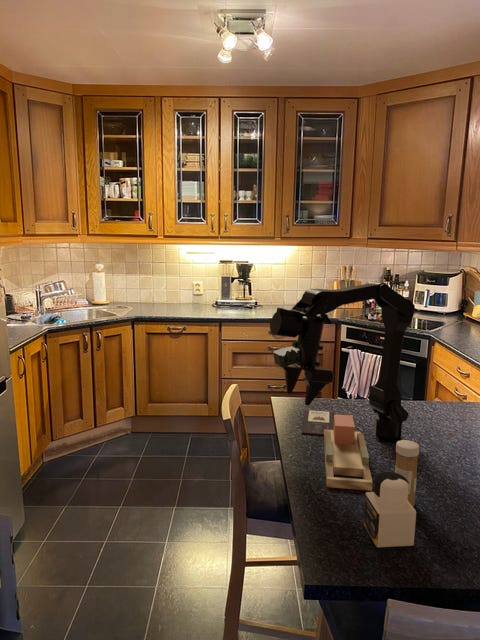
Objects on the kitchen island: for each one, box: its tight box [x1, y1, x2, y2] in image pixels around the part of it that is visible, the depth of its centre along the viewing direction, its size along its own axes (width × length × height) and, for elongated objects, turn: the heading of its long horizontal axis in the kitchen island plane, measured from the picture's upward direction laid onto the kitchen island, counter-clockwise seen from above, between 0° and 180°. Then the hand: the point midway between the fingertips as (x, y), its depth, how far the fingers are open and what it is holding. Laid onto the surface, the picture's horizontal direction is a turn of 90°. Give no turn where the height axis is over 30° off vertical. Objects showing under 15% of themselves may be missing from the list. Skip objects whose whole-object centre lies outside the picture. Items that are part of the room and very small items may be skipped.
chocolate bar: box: [301, 409, 335, 437], centre depth 144 cm, size 9×1×18 cm
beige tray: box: [323, 429, 374, 492], centre depth 120 cm, size 10×28×4 cm, turn 171°
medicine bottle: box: [363, 471, 417, 548], centre depth 89 cm, size 7×7×12 cm
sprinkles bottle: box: [394, 439, 420, 507], centre depth 100 cm, size 5×5×14 cm
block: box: [333, 414, 356, 445], centre depth 129 cm, size 5×8×5 cm, turn 171°
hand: (297, 399), depth 121 cm, fingers open, 9 cm apart
